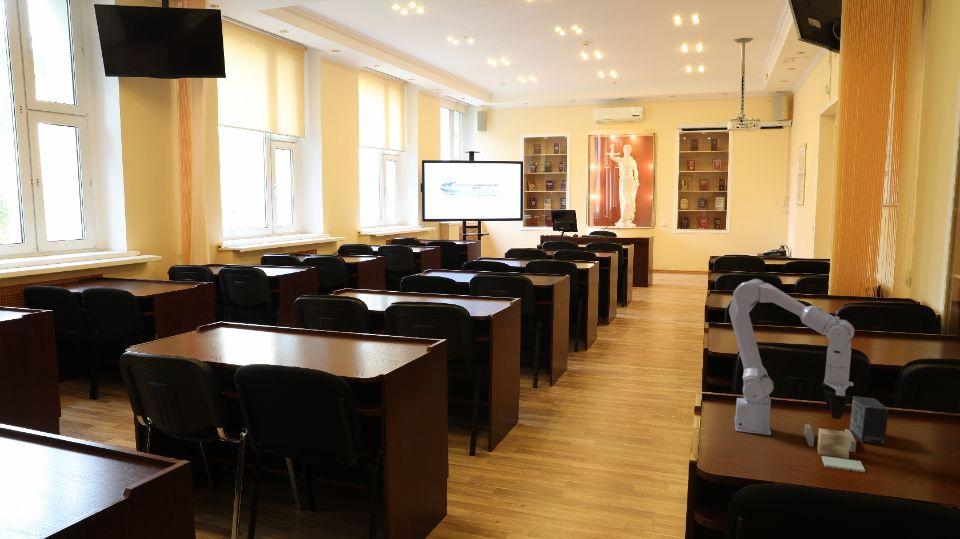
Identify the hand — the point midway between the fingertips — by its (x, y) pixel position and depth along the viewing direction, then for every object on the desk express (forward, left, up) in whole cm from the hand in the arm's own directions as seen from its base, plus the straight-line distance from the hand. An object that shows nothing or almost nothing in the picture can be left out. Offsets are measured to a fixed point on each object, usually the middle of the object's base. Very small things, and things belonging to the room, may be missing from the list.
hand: (833, 413), depth 181 cm
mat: (+1, -13, -9) cm, 16 cm away
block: (0, -5, -10) cm, 11 cm away
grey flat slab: (0, +3, -9) cm, 10 cm away
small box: (+11, +12, -10) cm, 19 cm away
